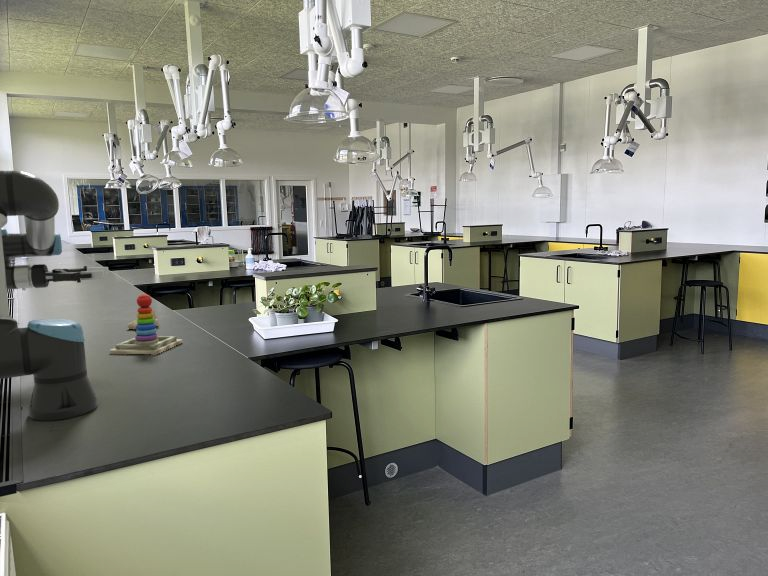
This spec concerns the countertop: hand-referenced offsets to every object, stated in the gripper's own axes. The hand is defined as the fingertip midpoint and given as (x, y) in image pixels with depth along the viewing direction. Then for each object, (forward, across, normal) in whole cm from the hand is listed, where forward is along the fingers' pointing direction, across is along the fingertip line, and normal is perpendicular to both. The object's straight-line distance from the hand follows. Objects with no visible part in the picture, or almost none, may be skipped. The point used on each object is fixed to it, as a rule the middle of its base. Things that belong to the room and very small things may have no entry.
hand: (106, 272), depth 186 cm
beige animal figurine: (+7, -54, -30) cm, 62 cm away
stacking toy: (+10, -13, -29) cm, 33 cm away
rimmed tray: (+10, -13, -30) cm, 34 cm away
